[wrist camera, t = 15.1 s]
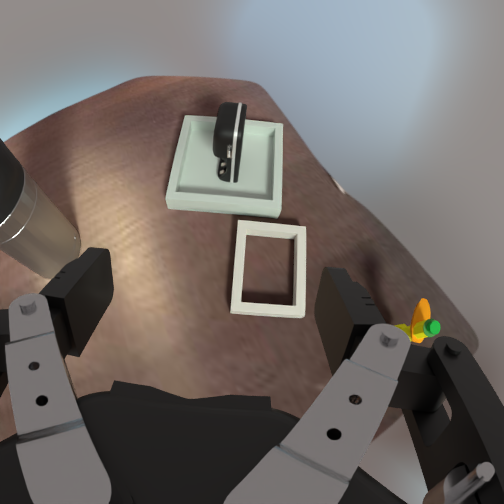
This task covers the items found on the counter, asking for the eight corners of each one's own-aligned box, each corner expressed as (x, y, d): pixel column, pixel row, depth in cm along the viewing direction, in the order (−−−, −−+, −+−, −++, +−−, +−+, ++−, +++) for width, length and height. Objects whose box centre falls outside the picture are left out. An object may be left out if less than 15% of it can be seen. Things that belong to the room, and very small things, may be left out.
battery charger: (218, 146, 49) (219, 95, 39) (242, 149, 50) (248, 97, 39) (211, 183, 47) (210, 133, 36) (237, 185, 47) (242, 136, 36)
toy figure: (383, 308, 44) (429, 287, 32) (403, 314, 44) (452, 296, 32) (373, 352, 41) (420, 345, 30) (393, 358, 41) (443, 352, 30)
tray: (168, 208, 46) (165, 198, 43) (186, 126, 51) (185, 115, 49) (277, 218, 47) (281, 209, 44) (279, 135, 52) (282, 123, 50)
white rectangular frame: (230, 313, 42) (230, 310, 40) (237, 226, 46) (238, 219, 44) (301, 318, 42) (304, 315, 40) (302, 232, 46) (305, 226, 45)
